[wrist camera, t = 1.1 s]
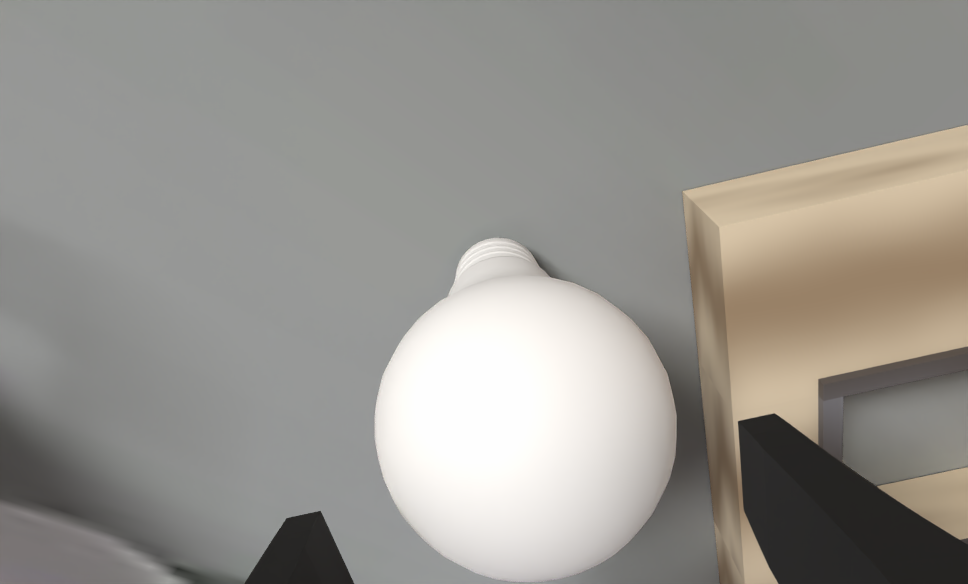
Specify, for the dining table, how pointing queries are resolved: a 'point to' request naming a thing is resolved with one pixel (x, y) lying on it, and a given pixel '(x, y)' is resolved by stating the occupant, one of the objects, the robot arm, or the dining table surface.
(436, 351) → the lightbulb
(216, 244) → the dining table surface
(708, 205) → the socket plate
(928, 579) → the robot arm
